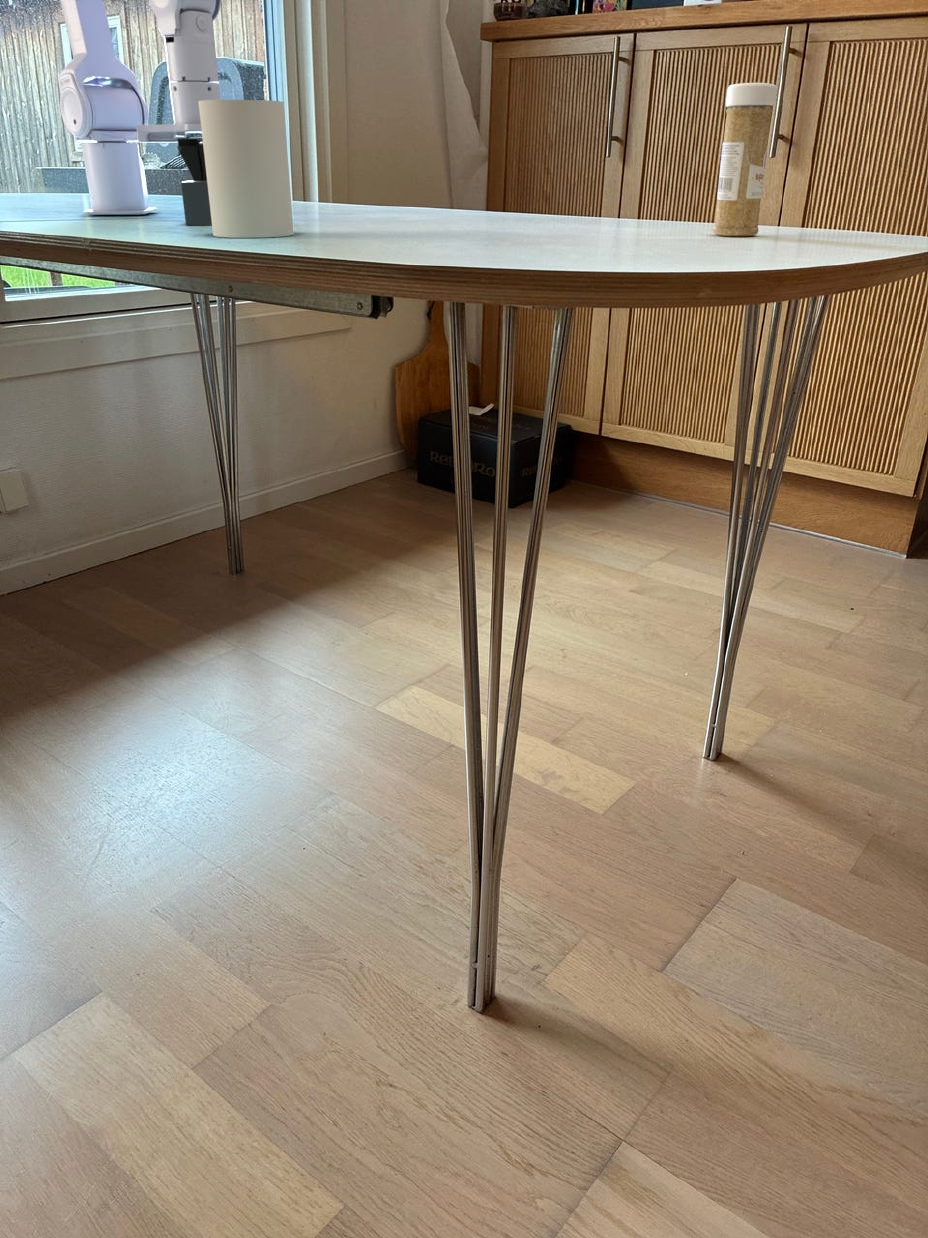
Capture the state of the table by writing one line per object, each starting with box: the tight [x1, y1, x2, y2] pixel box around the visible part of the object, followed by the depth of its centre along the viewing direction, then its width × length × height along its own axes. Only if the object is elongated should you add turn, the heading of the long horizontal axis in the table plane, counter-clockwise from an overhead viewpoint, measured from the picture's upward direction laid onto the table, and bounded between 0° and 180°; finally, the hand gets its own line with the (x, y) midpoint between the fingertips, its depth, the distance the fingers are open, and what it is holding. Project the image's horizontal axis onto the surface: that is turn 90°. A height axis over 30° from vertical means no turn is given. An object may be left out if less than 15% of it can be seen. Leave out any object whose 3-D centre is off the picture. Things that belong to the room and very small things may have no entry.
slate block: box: [180, 180, 212, 226], centre depth 111 cm, size 5×5×5 cm
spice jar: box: [712, 82, 777, 237], centre depth 93 cm, size 5×5×13 cm
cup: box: [198, 99, 294, 239], centre depth 94 cm, size 8×8×12 cm
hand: (208, 207), depth 118 cm, fingers closed
